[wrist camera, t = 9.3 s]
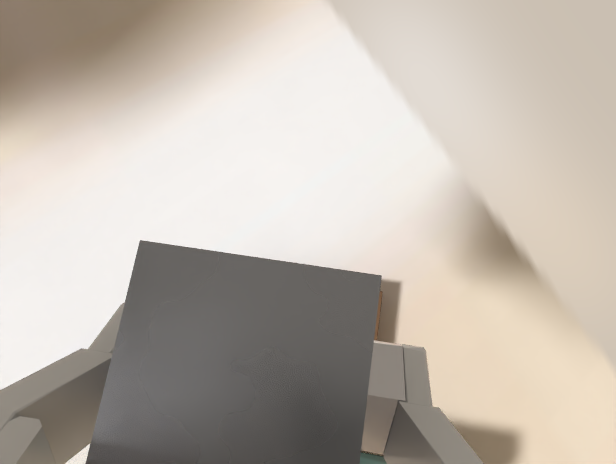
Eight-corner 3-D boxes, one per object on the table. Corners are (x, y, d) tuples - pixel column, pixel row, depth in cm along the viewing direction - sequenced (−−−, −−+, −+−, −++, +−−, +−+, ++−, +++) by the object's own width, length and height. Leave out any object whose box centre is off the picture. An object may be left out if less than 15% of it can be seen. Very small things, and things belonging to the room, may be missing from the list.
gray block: (214, 414, 15) (75, 506, 7) (237, 293, 16) (140, 239, 8) (335, 435, 15) (348, 558, 6) (352, 310, 16) (381, 275, 7)
